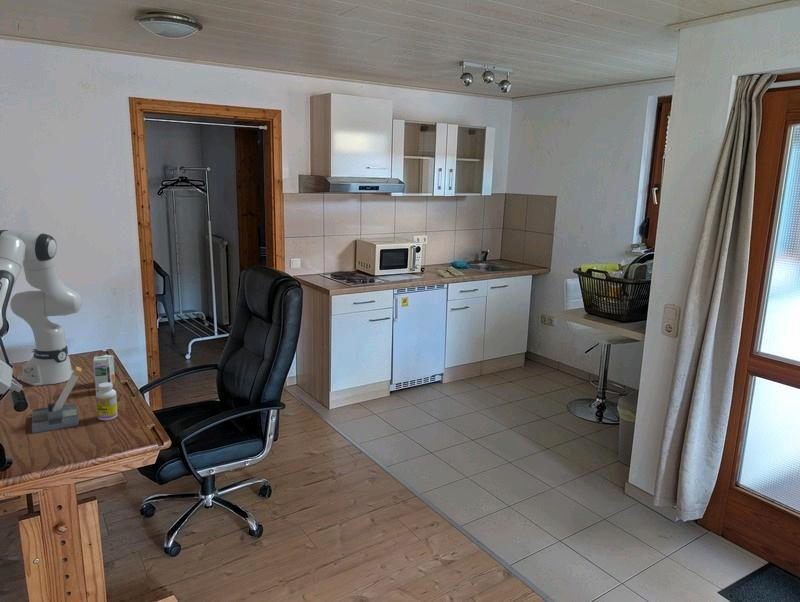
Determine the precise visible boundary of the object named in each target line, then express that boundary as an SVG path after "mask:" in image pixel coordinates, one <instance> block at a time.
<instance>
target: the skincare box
mask: <svg viewBox="0 0 800 602" xmlns="http://www.w3.org/2000/svg"><path fill="white" fill-rule="evenodd" d="M102 356H109V357H110V370H111V383H112V384H114V383H115V382H116V378H115V377H116V376H115V375H116V374H115V360H114V359H115V358H114V355H112V354H104V355H102Z"/></svg>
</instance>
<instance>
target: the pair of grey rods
mask: <svg viewBox="0 0 800 602" xmlns="http://www.w3.org/2000/svg"><path fill="white" fill-rule="evenodd" d="M71 405H77V403H67V404H64V405H63V407H64V406H71ZM45 409H48V406H47V407H46V406H45V407H41V408H36V409H32V412H33V411H38V410H45Z"/></svg>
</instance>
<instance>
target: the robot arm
mask: <svg viewBox="0 0 800 602" xmlns="http://www.w3.org/2000/svg"><path fill="white" fill-rule="evenodd" d="M57 244H58V243H57V241H56V239H55V238H54V237H53V236H52V235H49V234H48V233H44V232H43V233H39V232H34V231H29V230H8V229H0V336H1V337H0V339H1V338H2V337H4V335H5V334H6V332H7V330H8V320H7V309H8V306H10V310H11V311H12V313H13V314H14V315H15V316H16V317H18V318H20V319H22V320H23V321H24V322H26V323H27V325H28V326H29V327H30V329H31V331H32V333H33V334H32V335H33V337H34V344H35V345H34V346H35V348H33V349H32V350H31V353H33V356H32V358H30V359H29V360H28V361H27V362H25V363H24V364H23V365H22V374H19V375H17V376H16V379H15V378H13V372H14V369H13V367H11V366H10V365H9V364H8V363H6V362H4V361H3V360H2V359H0V394H1V395H4V394H5V393H7V391H9V389H10V390H13V391H15V392H17V393H20V392H21V391H22V390H23V384H20V382H18V381H20V380H21V382H23V383H25V384H28V385H31V386H36V387H37V386H42V385H43V386H44V385H54V384H60V383H65V382H68V380H69V379H70V377H71V375H72V373H73V371H74V369H72V364H71V360H70V356H69V355H68V354H69V352H68V351H69V350H68V346H67V342H66V332H65V328H64V327H63V326H61V325H60V324H57V323H54V322H52V321H51V320H49V318H48V317H57V316H58V317H59V316H60V317H63V316H69V315H75V314H77V313H78V312H79V311H80V310H81V308H82V305H83V304H82V303H83V301H82V296H81V295H80V294H79V293H78V292H77V291H76V290H73V289H71V288H70V287H68V286H67V285H66V284H64V283H63V282H62V279H60V276H59V274H58V270H57V265H56V260H55V256H56V254H57V248H58V245H57ZM22 268H23V272H24V276H25V280H26V282H27V283H28V284H29V285H30V286H31V287H33V288H35V289H38V290H27V291H21V292H17V293H15V294H13V295H12V291H13V287H14V285H15V284H16V282H17V281H18V278H19V276H20V273H21V271H22ZM11 295H12V297H11ZM9 302H10V303H9ZM3 334H4V335H3ZM17 380H18V381H17Z"/></svg>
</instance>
